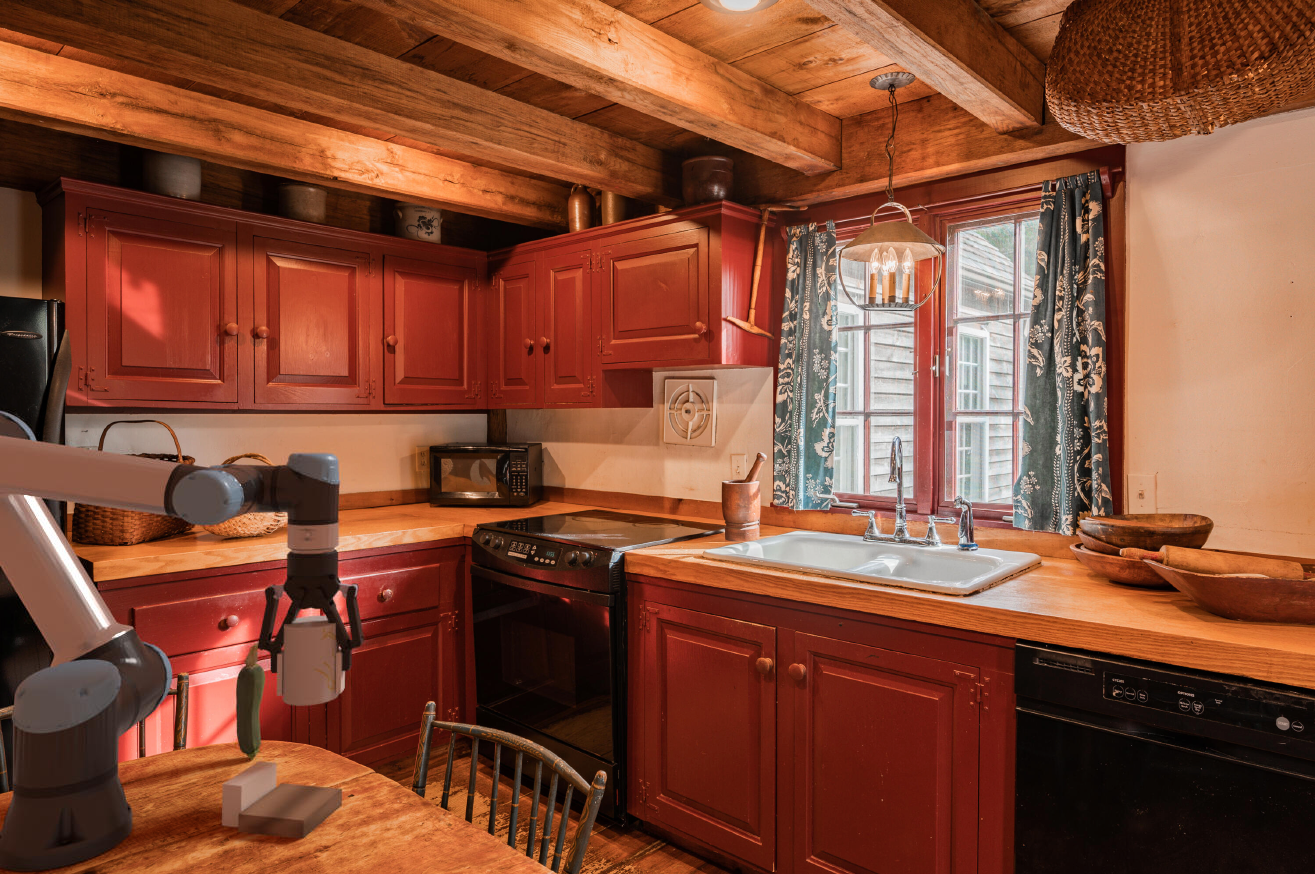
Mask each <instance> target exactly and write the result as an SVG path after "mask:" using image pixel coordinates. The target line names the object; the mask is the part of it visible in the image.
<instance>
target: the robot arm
mask: <svg viewBox="0 0 1315 874" xmlns="http://www.w3.org/2000/svg"><path fill="white" fill-rule="evenodd" d="M340 485H341V480H340V470H339V459H338V457H337V456H336V455H335V454H334V453H329V452H295V453H291V454H289V456H288V460H287V462H286V464H281V465H279V464H278V465H269V464H268V465H266V464H264V465H263V464H262V465H260V464H236V463H230V464H228V463H227V464H225V463H224V464H215V465H211V466H209V467H207V466H201V465H195V464H185V463H180V462H173V461H168V460H167V461H166V460H160V459H156V458H155V459H154V458H148V457H141V456H134V455H129V454H124V453H115V452H110V451H109V452H108V451H102V450H97V449H90V448H84V447H83V448H82V447H77V446H70V445H63V444H57V443H51V442H45V441H44V442H43V441H38V440H37V439H36V436H35V434H34V432H33V430H32V429H31V428H30V427H29V426H28V425H27V423H25V422H24V421H23V420H21V419H20V418H19V417H17V416H15V415H13V414H11V413H8V412H6V411H1V410H0V567H1V570H2V571H3V573H4V574H5V576H6V578H7V580H8V581H9V582H10V583H11V586H12V587H13V589H14V591H15V592H16V594H17V595H18V597H19V599H20V600H21V602H22V604H23V606H24V607H25V608H26V610H27V611H28V613H29V615H30V617H31V618H32V620H33V622H34V623H35V625H36V626H37V628H38V630H39V631H40V633H41V634H42V636H43V638H44V640H45V641H46V643H47V645H48V646H49V648H50V649H51V651H52V652H53V659H52V662H51V664H50V666H49V667H46V668H43V669H41V670H38V671H37V672H34V673H33V674H31V675H29V676H28V677H26V678H25V679H23V681H22V682H21V683H20V684H19V685H18V687H17V688H16V690H15V693H14V701H13V702H14V703H13V704H14V705H13V706H12V709H11V710H12V712H11V720H12V796H11V797H12V798H11V801H10V804H9V806H8V808H7V811H6V813H5V814H6V815H5V817H4V820H3V825H2V829H1V830H0V868H1V869H4V870H5V869H6V870H9V871H14V872H15V871H16V872H34V871H35V872H36V871H37V872H39V871H44V870H52V869H58V868H61V867H67V866H69V865H74V864H78V863H80V862H83V861H86V860H89V859H92V858H94V857H96V856H99V855H101V854H104V853H105V852H107V851H109V850H111V849H113V848H114V847H116V846H118V845H119V844H121V843H122V842H123V841H124V840H125V839H126V838H128V836H130V834H131V832H132V830H133V809H132V807H131V805H130V804H129V802H128V801H127V797H126V793H125V791H124V790H125V789H124V787H123V785H122V782H121V780H120V777H119V746H120V745H119V741H120V740H119V738H120V737H122V736H123V735H124V734H125V733H127V732H128V731H129V730H131V729H132V728H133V727H134V726H135V725H136V724H138V723H139V722H140V723H141V721H143V720H145V719H148V717H149V716H151V715H152V714H153V713H154V712H155V711H156V710H157V709H158V707H159V706H160V705H161V704H162V703H163V701H164V700H165V699H166V697H167V696H168V693H169V692H170V689H171V686H172V682H173V669H172V665H171V662H170V660H169V658H168V656H167V655H166V653H165V652H163V650H162V649H161V648H160V647H158V646H156V645H154V644H150V643H147V642H145V641H142V640H141V638H140V636H139V635H138V633H137V631H136V630H135V628H134V627H133V626H131V625H126V624H121V623H119V622H117V621H116V619H115V617H114V616H113V614H112V612H111V611H110V609H109V607H108V606H107V604H106V602H105V601H104V599H103V598H102V596H101V594H100V592H99V591H98V589H97V587H96V586H95V584H94V582H93V581H92V579H91V577H90V576H89V573H88V572H87V571H86V569H85V568H84V566H83V564H82V563H81V560H80V559H79V557H78V556H77V555H76V553H75V551H74V549H73V548H72V546H71V544H70V543H69V542H68V541H69V540H67V538H66V536H65V534H64V533H63V531H62V529H61V527H60V526H59V525H58V523H57V521H56V519H55V518H54V517H53V515H52V512H50V509H49V508H48V506H47V505H46V503H45V502H44V500H43V499H47V500H53V501H54V500H55V501H63V502H70V503H76V504H83V505H90V506H97V507H99V506H100V507H105V508H113V509H119V510H125V511H126V510H127V511H132V512H133V511H134V512H140V513H147V514H154V515H161V516H162V515H163V516H169V517H175V518H178V519H179V518H180V519H182V520H183V521H185V522H187V523H189V524H192V525H196V526H215V525H220V524H222V523H225V522H227V521H229V520H231V519H234V518H238V517H241V516H245V515H248V514H254V513H255V514H256V513H257V514H259V513H263V514H264V513H269V514H270V513H276V514H277V513H279V514H281V513H286V514H287V527H286V528H287V530H286V531H287V535H286V536H287V537H286V538H287V541H286V542H287V545H286V547H287V548H288V549H289V550H290V551H289V552H288V553H287V555H286V580H285V581H284V584H278V585H277V584H271V585H269V586H268V587H266V588H265V589H264V595H265V596H264V597H265V601H266V604H265V608H264V614H263V617H262V622H261V627H260V634H259V638H258V642H257V643H258V650H259V651H267V652H268V653H269V654H270V672H271V674H276V696H280V697H281V696H282V697H283V664H284V649H282V648H284V624H291V623H293V622H294V621H295V620H296V618H298V615H299V614H300V612H301V610H308V609H314V610H321V611H322V613H323V614H324V616H326V617H327V619H328V622H329V623H336V639H337V641H338V643H339V650H338V651H337V653H336V694H338V695H339V694H342V692H344V689H345V687H346V686H345V685H346V684H345V681H346V679H345V678H346V672H349V671H350V669H351V667H352V662H353V661H352V655H353V654H352V653H353V651H352V650H353V649H356V648H360V647H361V645H362V644H363V643H364V642H365V637H364V632H363V631H364V630H363V626H362V619H361V615H360V608H359V604H358V594H359V589H360V586H359V584H357V583H356V582H355V583H352V584H350V583H349V584H348V583H343V582H341V579H340V578H339V552H338V550H337V549H336V548H337V547H338V546H339V539H340V538H339V537H340V534H339V531H340V528H339V525H340V524H339V523H340V522H339V521H340V520H339V519H340V518H339V508H340ZM338 592H341V595H342V597H343V598H344V599H345V606H346V607H345V608H346V613H347V617H348V622H349V623H348V624H349V629H350V634H351V637H350V635H349V633H348V631H347V628H346V626H345V624H344V622H343V620H342V617H341V616H340V615H341V614H340V612H339V611H338V608H337V604H336V601H335V600H334V597H336V595H337V594H338ZM283 593H285V594H286V596H288V597H289V600H291V603H290V605H289V607H288V610H287V613H286V615H285V617H284V619H283V620H282V624H281V626H280V627H279V630H278V631H277V633H276V636H275V637H274V640H272V639H273V638H272V637H273V633H274V629H275V623H276V618H277V614H278V609H279V604H280V598H282V597H283Z"/></svg>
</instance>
